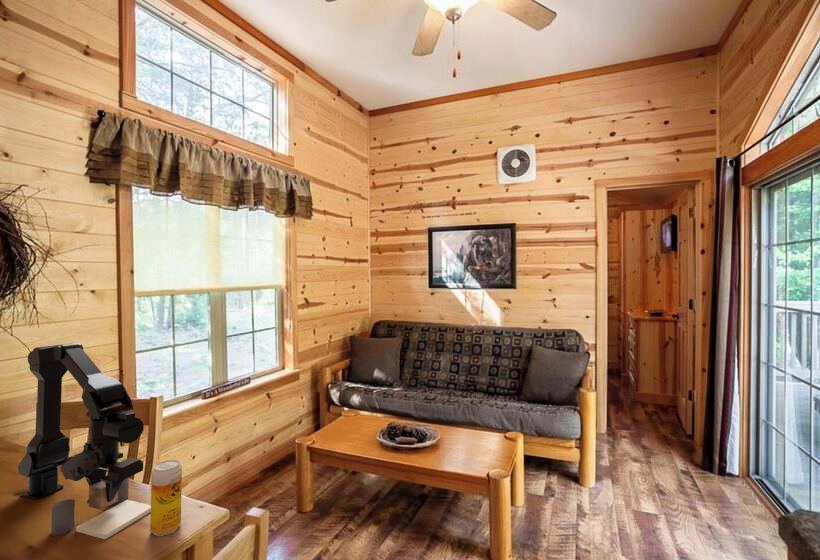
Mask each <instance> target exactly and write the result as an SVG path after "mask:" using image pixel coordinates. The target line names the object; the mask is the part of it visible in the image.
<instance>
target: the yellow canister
mask: <svg viewBox="0 0 820 560" xmlns="http://www.w3.org/2000/svg"><path fill="white" fill-rule="evenodd" d="M150 473H151V477H150V479H151V480H150V484H151V485H150V505H151V512H150V519H149V520H150V521H149V522H150V523H149V525H150V527H149V528H150V530H149V531H150V533H151V534H153V535H154V536H155V535H156V537H163V536H164V535H165V536H167V535H171V534H172V533H174V532H176V531H177V529H179V526H180V525H181V523H182V492H183V491H182V489H183V488H182V487H183V486H182V483H183V481H182V479H183V466H182V464H181V461H179V460H177V459H169V460H164V461H161V462H159V463H155V465H154V466H153V469H152V471H151V472H150Z"/></svg>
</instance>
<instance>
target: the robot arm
mask: <svg viewBox="0 0 820 560" xmlns="http://www.w3.org/2000/svg"><path fill="white" fill-rule="evenodd" d="M27 363H28V365H29V371H30V372H31V373H32V374H33V376H34V377H35V378H36V379H37V397H36V424H35V425H36V426H35V427H36V428H35V431H36V432H35V434H34V435H33V437H32V438H31V440H30V441H29V443H27V446H26V454H25V455H24V457H23V458H22V459H21V461H20V462H19V463H18V464H17V472H18V474H19V475H21V476H23V477H26V478H27V490H26V491H23V492H21V493H20V496H21V497H26V498H29V499H34V500H39V499H41V498H43V497H45V496H47V495H50V494H52V493H55V492H58V491H59V490H62V489H63V488H65V486H64V485H63V484H59V469H60V471H61V473H62V475H63V477H64V479H65V480H69V481H70V480H71V481H73V482H79V481H80V480H82V479H85V480H86V482H87V484H88V487H89V486H90V485H93V484H95V483H97V482H99V481H101V480H102V481H104V482H105V483H106V496H107V501H108V502H110V501H112V500H113V499H114V497H115V495H116V493H117V491H118V490H119V488H120V486H121V484H122V482H123V480H124V479H127V478H130V477H133V476H135V475H136V474H139V473H141V472H143V471H144V461H143V460H141V459H138V458H133V457H128V458H126V459H124V460H121V461H119V460H120V459H122V458H124V452H120V443H123V444H131V443H134V442H135V441H137V440H138V439H139V438H140V437H141V435H142V434H143V432H144V430H145V429H144V428H145V426H144V423H143V420H141V418H139V417H136V412H135V411H133V410H134V406H133V400H132V399H131V397H130V395H129V393H128V391H127V389H126V387H125V386H124V385H123V384H122V382H120V381H119V380H118V379H117V378H115V377H113V376H109V375H106V374H104V372H102V371H101V369H100V368H99V366H97V364H95V362H94V361H93V360H92V359H91V358H90V356H89V355H88V354H87V353H86V352H85V351H84V346H83V345H82V344H81V343H78V342H72V343H71V342H70V343H62V344H55V345H54V344H53V345H46V346H37V347H33V349H32V350H31V351H30V352H29V353H28V354H27ZM67 372H69V373H70V375H71V376H72V377H73V379H74V380H75V381H76V383H78V385H79V386H80V387H81V389H82V393H81V400H82V401H83V405H84V406H85V408H86V409H87V410H88V411H87V412H86V413H85V416H86V417H89V441H87V442H84V445H83V449H82V450H83V451H81V452H79V453H76V454H73V455H71V456H69V455H70V451H71V447H70V438H69V437H68V436H66V435H65V434H64V433H63V432H62V431H61V423H62V420H61V419H62V418H61V417H62V392H63V391H62V389H63V377H64V376H65V374H66V373H67Z"/></svg>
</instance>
